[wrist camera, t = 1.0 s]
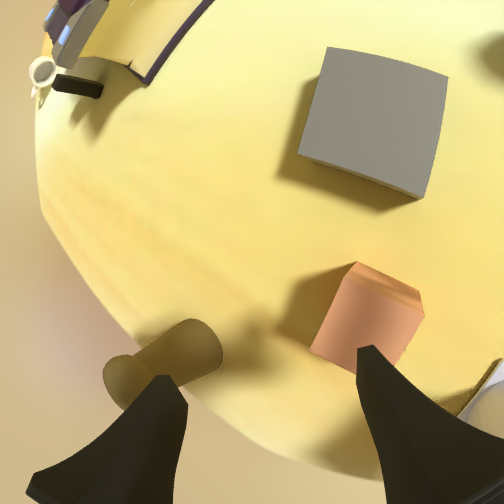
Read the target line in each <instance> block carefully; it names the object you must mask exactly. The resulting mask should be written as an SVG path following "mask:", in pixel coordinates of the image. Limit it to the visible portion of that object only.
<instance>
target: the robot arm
mask: <svg viewBox="0 0 504 504" xmlns="http://www.w3.org/2000/svg"><path fill="white" fill-rule="evenodd" d="M356 385H357V390H358V394H359V398H360V402H361V406H362V409H363V412H364V414H365V417H366V420H367V423H368V426H369V428H370V431H371V434H372V437H373V440H374V443H375V446H376V448H377V452H378V455H379V459H380V464H381V469H382V474H383V480H384V486H385V492H386V501H387V504H504V359H502V360H500V361H499V363H498V364H497V366H496V367H495V369H494V370H493V371H492V373H491V374H490V376H489V377H488V378H487V380H486V381H485V383H484V384H483V385H482V387H481V388H480V389H479V390H478V392H477V393H476V394H475V396H474V397H473V398H472V399H471V400H470V402H469V403H468V404H467V405H466V406H465V408H464V409H463V410H462V411H461V412H460V413H459V414H458V416H457V417H455V416H454V415H452V414H451V413H449V412H447V411H446V410H445V409H443V408H442V407H440V406H439V405H437V404H436V403H435V402H433V401H432V400H431V399H429V398H428V397H427V396H426V395H425V394H423V393H422V392H421V391H420V390H419V389H417V388H416V387H415V386H414V385H413V384H412V383H411V382H410V381H409V380H408V379H406V378H405V377H404V376H403V375H402V374H401V373H400V372H399V371H398V370H397V369H396V368H395V367H394V366H393V365H392V364H391V363H390V362H389V361H388V360H387V359H386V357H385V356H384V355H383V354H382V353H381V352H380V351H379V350H378V349H377V347H376V346H374V345H373V344H372V345H368V346H365V347H361V348H357V371H356ZM187 415H188V404H187V402H186V400H185V399H184V397H183V396H182V394H181V392H180V391H179V389H178V388H177V386H176V384H175V383H174V381H173V379H172V378H171V376H170V374H169V375H156V376H155V377H154V378H153V379H152V380H151V382H150V383H149V384H148V385H147V386H146V387H145V388H144V390H143V391H142V392H141V393H140V394H139V395H138V397H137V398H136V399H135V400H134V401H133V402H132V403H131V405H130V406H129V407H128V408H127V409H126V410H125V411H124V413H122V415H121V416H119V418H118V419H117V420H116V421H115V422H114V423H113V424H112V425H111V426H110V427H109V428H108V429H107V430H106V431H105V432H103V433H102V434H101V435H100V436H99V437H97V438H96V439H95V440H94V441H93V442H91V443H90V444H89V445H87V446H86V447H84V448H83V449H82V450H80V451H79V452H77V453H76V454H74V455H73V456H71V457H69V458H67V459H66V460H64V461H62V462H60V463H58V464H56V465H54V466H51V467H49V468H46V469H44V470H41V471H39V472H36V473H34V474H33V476H32V478H31V481H30V483H29V485H28V488H27V490H26V494H27V495H28V496H29V497H30V498H32V499H33V500H35V501H36V502H38V503H39V504H173V489H174V478H175V472H176V467H177V463H178V459H179V455H180V451H181V446H182V442H183V438H184V434H185V430H186V424H187Z"/></svg>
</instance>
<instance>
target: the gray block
mask: <svg viewBox="0 0 504 504" xmlns="http://www.w3.org/2000/svg"><path fill="white" fill-rule="evenodd" d="M447 83H448V77H447V76H445V75H442V74H439V73H436V72H434V71H431V70H428V69H425V68H422V67H419V66H415V65H412V64H409V63H405V62H402V61H398V60H394V59H390V58H386V57H382V56H378V55H373V54H368V53H363V52H358V51H352V50H346V49H340V48H332V47H327V50H326V54H325V57H324V61H323V65H322V68H321V72H320V75H319V79H318V83H317V86H316V90H315V93H314V97H313V100H312V104H311V107H310V111H309V114H308V118H307V121H306V125H305V128H304V132H303V135H302V138H301V142H300V145H299V149H298V152H297V154H299V155H301V156H303V157H304V158H306V159H308V160H310V161H312V162H315V163H318V164H322V165H325V166H328V167H331V168H334V169H337V170H340V171H344V172H347V173H349V174H352V175H355V176H358V177H361V178H364V179H367V180H369V181H372V182H375V183H378V184H380V185H383V186H386V187H388V188H391V189H393V190H396V191H398V192H401V193H403V194H406V195H408V196H411V197H413V198H415V199H418V200H420V199H422V198H424V195H425V192H426V188H427V185H428V181H429V178H430V174H431V170H432V166H433V162H434V158H435V154H436V149H437V145H438V140H439V135H440V130H441V125H442V119H443V113H444V106H445V99H446V92H447Z"/></svg>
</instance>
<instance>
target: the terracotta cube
mask: <svg viewBox="0 0 504 504" xmlns="http://www.w3.org/2000/svg"><path fill="white" fill-rule="evenodd" d="M423 318H424V311H423V306H422V302H421V297H420V293H419V290H417V289H415V288H413V287H411V286H408V285H406V284H404V283H402V282H400V281H398V280H396V279H394V278H392V277H390V276H388V275H385V274H383V273H381V272H379V271H377V270H375V269H373V268H370V267H368V266H366V265H364V264H362V263H360V262H356V263H355V264H354V265H353V267H352V268H351V269H350V270H349V271H348V273H347V274H346V275H345V276H344V277H343V280H342V282H341V284H340V287H339V289H338V291H337V293H336V296H335V298H334V300H333V302H332V304H331V306H330V309H329V311H328V313H327V315H326V317H325V319H324V321H323V323H322V325H321V327H320V330H319V332H318V334H317V336H316V338H315V340H314V342H313V343H312V345H311V347H310V349H309V351H311V352H312V353H314V354H316V355H318V356H320V357H322V358H324V359H326V360H328V361H330V362H332V363H334V364H336V365H338V366H340V367H342V368H344V369H346V370H348V371H350V372H352V373H354V374H356V371H357V348H361V347H365V346H368V345H372V344H373V345H374V346H376V347H377V349H378V350H379V351H380V352H381V353H382V354H383V355H384V356H385V357H386V359H387V360H388V361H389V362H390V363H391V364H392V365H393V366H394V365H395V364H396V362H397V361H398V359H399V358H400V356H401V355H402V353H403V352H404V350H405V349H406V347H407V345H408V344H409V342H410V341H411V339H412V337H413V336H414V334H415V332H416V330H417V329H418V327H419V325H420V323H421V322H422V320H423Z"/></svg>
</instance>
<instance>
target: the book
mask: <svg viewBox="0 0 504 504" xmlns="http://www.w3.org/2000/svg"><path fill="white" fill-rule="evenodd" d="M213 2H214V0H57V1H56V3H55V5H54V7H53V8H52V9H51V11H50V13H49V14H48V16H47V18H46V20H45V22H44V24H43V28H44V31H46V32H48V34H49V36H50V39H52V43H53V46H54V47H53V48H52V56H53V59H54V62H55V64H56V65H57V66H60V67H63V68H67V69H72V68H73V66H74V64H75V62H76V61H77V59H78V58H81V57H94V56H97V57H101V58H104V59H108V60H111V61H115V62H118V63H121V64H123V65H124V66H125V67H127V68H128V69H129V70H130V71H131V72H132V73H133V74H134V75H135V76H136V77H138V78H139V79H140V80H141V81H142V82H143V83H144V84H148V85H150V84H151V82H152V81H153V79H154V77H155V76H156V74H157V73H158V71H159V70H160V68H161V67H162V65H163V64H164V63H165V61H166V60H167V58H168V57H169V55H170V54H171V53H172V51H173V50H174V49H175V47H176V46H177V45H178V43H179V42H180V41H181V39H182V38H183V37H184V35H185V34H186V33H187V32H188V30H189V29H190V28H191V27H192V26H193V24H194V23H195V22H196V21H197V20H198V18H199V17H200V16H201V15H202V14H203V13H204V11H205V10H206V9H207V8H208V7H209V6H210V5H211V4H212V3H213Z"/></svg>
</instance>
